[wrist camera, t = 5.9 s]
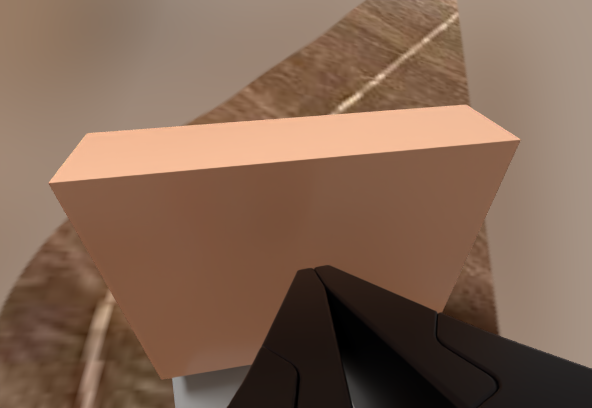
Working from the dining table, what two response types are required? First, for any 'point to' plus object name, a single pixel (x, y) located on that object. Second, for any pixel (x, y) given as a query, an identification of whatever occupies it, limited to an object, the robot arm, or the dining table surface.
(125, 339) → the dining table surface
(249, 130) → the peach rectangular block
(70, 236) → the dining table surface
